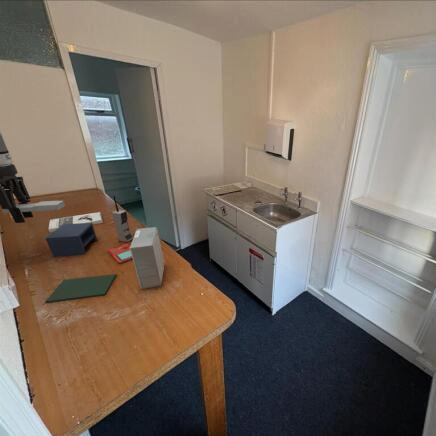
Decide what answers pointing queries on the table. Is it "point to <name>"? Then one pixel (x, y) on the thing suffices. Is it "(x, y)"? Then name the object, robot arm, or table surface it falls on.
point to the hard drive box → (147, 257)
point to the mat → (82, 288)
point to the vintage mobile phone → (121, 224)
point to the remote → (39, 206)
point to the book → (75, 220)
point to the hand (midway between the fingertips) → (24, 219)
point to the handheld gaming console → (121, 253)
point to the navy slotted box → (71, 239)
